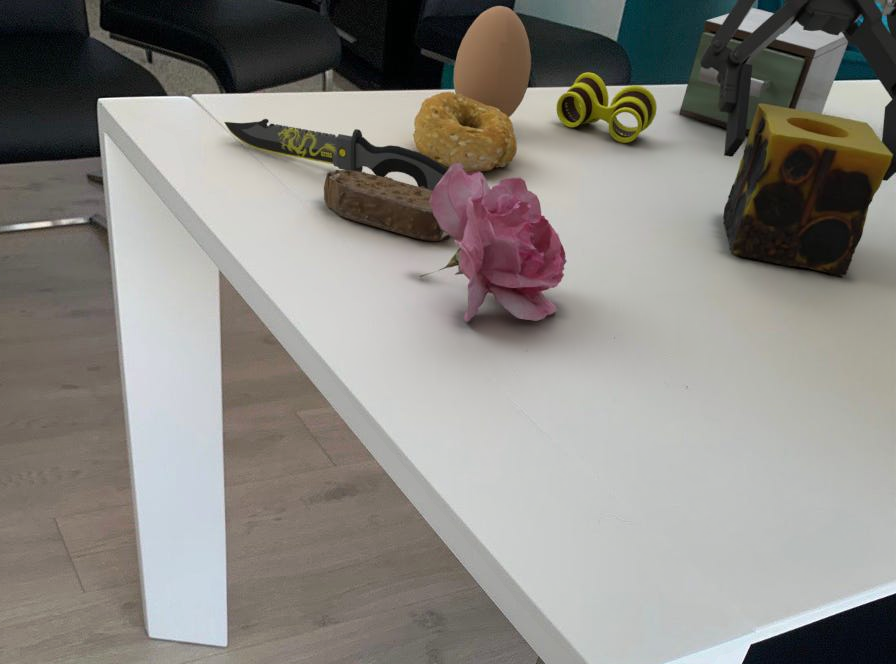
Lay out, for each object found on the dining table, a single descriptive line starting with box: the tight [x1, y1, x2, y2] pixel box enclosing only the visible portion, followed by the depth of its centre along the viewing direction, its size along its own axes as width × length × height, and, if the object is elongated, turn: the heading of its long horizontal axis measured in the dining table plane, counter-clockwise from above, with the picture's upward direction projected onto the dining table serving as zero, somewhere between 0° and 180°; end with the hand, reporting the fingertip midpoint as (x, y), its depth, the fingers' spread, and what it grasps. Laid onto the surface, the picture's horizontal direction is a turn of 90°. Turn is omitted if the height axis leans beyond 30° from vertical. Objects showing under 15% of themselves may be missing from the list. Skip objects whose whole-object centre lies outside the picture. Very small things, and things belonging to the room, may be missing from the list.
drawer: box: [681, 32, 805, 129], centre depth 118 cm, size 19×12×8 cm, turn 148°
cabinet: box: [678, 7, 849, 136], centre depth 121 cm, size 16×13×10 cm
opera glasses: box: [556, 72, 657, 144], centre depth 109 cm, size 10×5×5 cm, turn 62°
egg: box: [453, 5, 532, 119], centre depth 103 cm, size 8×8×11 cm
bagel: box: [412, 91, 518, 173], centre depth 96 cm, size 10×11×5 cm
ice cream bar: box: [323, 169, 451, 242], centre depth 81 cm, size 5×15×3 cm, turn 70°
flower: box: [419, 163, 568, 324], centre depth 72 cm, size 11×10×10 cm
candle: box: [722, 104, 893, 277], centre depth 88 cm, size 10×10×10 cm
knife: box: [224, 118, 449, 191], centre depth 88 cm, size 23×2×5 cm, turn 62°
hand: (812, 160), depth 86 cm, fingers open, 13 cm apart
